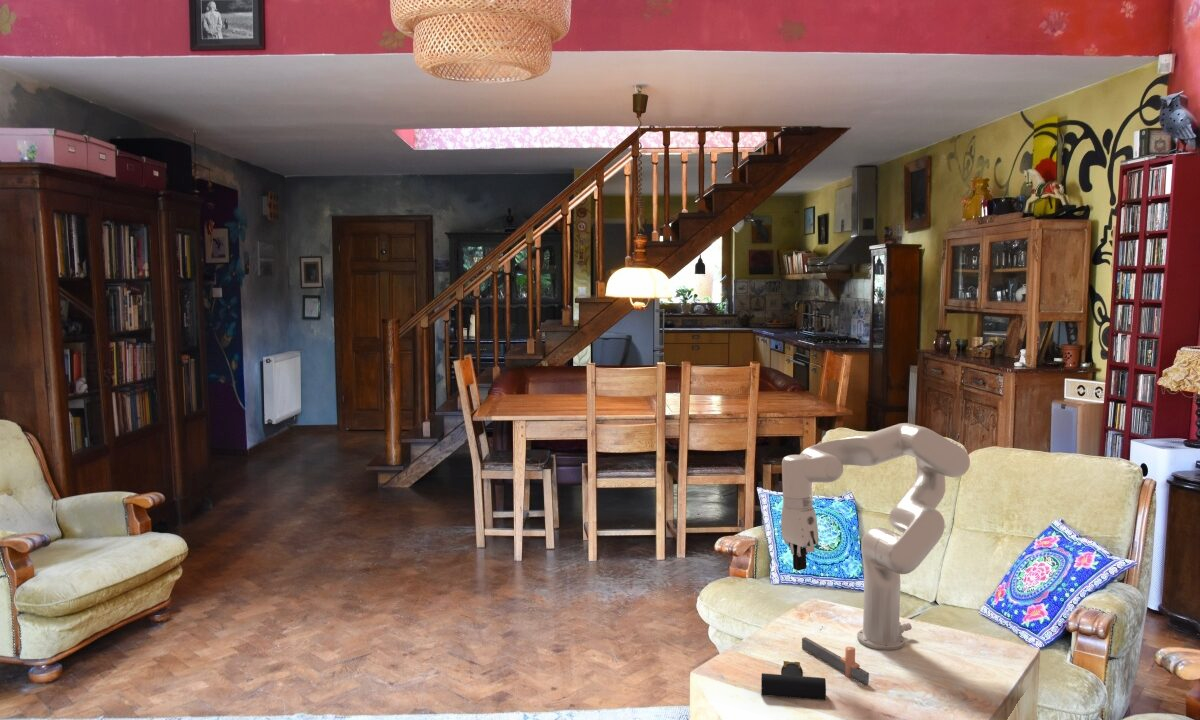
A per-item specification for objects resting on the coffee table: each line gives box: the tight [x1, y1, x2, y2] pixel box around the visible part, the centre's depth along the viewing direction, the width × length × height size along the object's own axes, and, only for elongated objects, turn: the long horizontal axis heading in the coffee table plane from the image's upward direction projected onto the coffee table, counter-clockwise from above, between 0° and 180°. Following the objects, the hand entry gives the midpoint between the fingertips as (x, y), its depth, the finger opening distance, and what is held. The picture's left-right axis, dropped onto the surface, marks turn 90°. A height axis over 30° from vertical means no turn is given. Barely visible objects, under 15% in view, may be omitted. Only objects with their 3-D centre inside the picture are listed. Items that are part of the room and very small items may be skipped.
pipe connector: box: [760, 660, 827, 701], centre depth 209 cm, size 12×5×15 cm
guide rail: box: [801, 636, 870, 686], centre depth 221 cm, size 2×24×7 cm, turn 26°
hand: (799, 568), depth 228 cm, fingers closed
